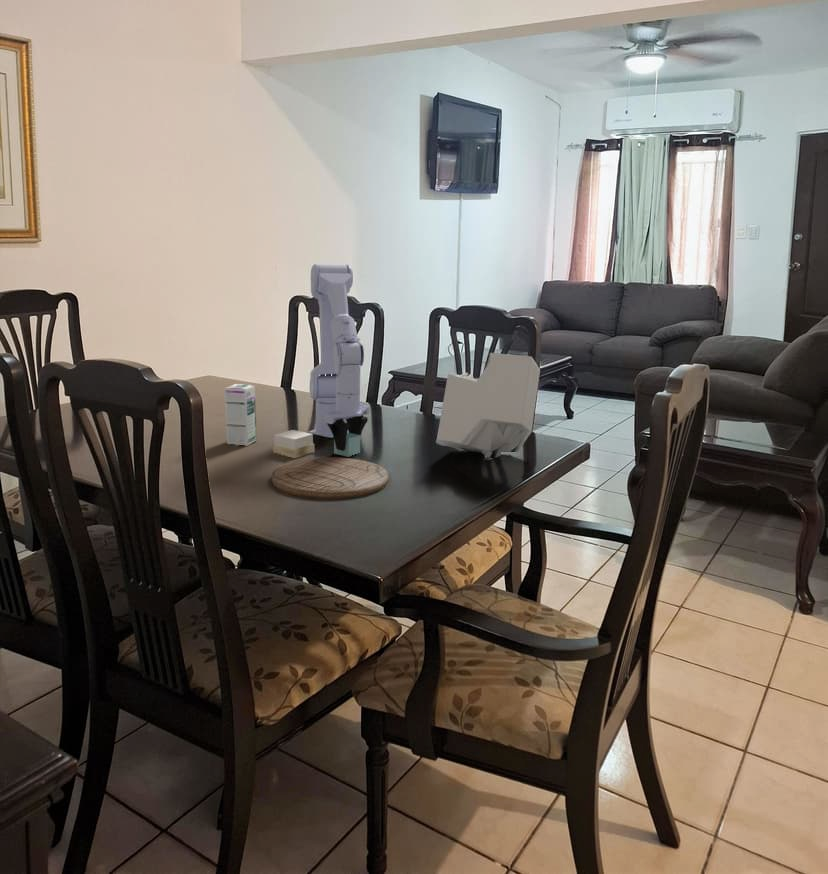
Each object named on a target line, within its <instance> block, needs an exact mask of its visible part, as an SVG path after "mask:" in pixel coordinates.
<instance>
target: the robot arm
mask: <svg viewBox="0 0 828 874" xmlns="http://www.w3.org/2000/svg"><path fill="white" fill-rule="evenodd" d="M353 281H354V273H353V268H352V267H351V265H350V264H343V265H341V264H317V263H314V264H313V265H312V267H311V270H310V293H311V297H313V298H314V299H316V300H317V302H318V307H319V342H320V344H319V346H320V362H319V364H317V365H316V366H315V367H314V368H312V369H311V371H310V374H309V375H310V376H309V377H310V379H309V394H310V397H311V399H312V400H314V401H315V429H312V430H309V431H308V433H310V434H313V435H317V436H321V437H325V438H328V439H329V438H331V439H332V438H333V442H334V441H335V445H336V449H338V450H342V451H343V450H345V446H346V436H347V432H348V433H353V434H357V435H361V436H362V433H363V430H364V428H365V426H366V424H367V422H368V420H369V419H368V417H367V416H364V415H370V406H368V405H360V403H361V402H360V401H361V367H362V366H363V364H364V360H365V350H364V349H365V348H364V345H363V343H362V341H361V339H360V338H359V336H358V332H357V329H356V323H355V319H354V318H353V317H352V316H350V314H349V305H348V303H349V302H348V293H350V290H351V288H352V286H353Z"/></svg>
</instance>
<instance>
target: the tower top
mask: <svg viewBox="0 0 828 874" xmlns="http://www.w3.org/2000/svg"><path fill="white" fill-rule="evenodd" d="M313 440H314V434H311V433H309V432H304V431H300V430H296V429H291V430H287V431H283V432H280V433H276V434H274V435H273V443H274V444H273V445H277V446H281V447H286V448H290V449H298V448H302V447H305V446H308V445H311V444H314V441H313Z"/></svg>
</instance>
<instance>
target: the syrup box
mask: <svg viewBox="0 0 828 874" xmlns="http://www.w3.org/2000/svg"><path fill="white" fill-rule="evenodd" d="M256 405H257V404H256V385H254V384H249V383H234V384H232V385H229V386H228V387H224V407H225V410H224V411H225V429H226V430H225V432H226V433H225V434H226V435H225V436H226V445H230V444H235V445H234V446H239V445H245V446H244V447H249V446H250V445H251V444H253V443H254V442H256V441H258V440H257V439H258V437H257V411H256V410H257V409H256V407H257V406H256Z"/></svg>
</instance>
